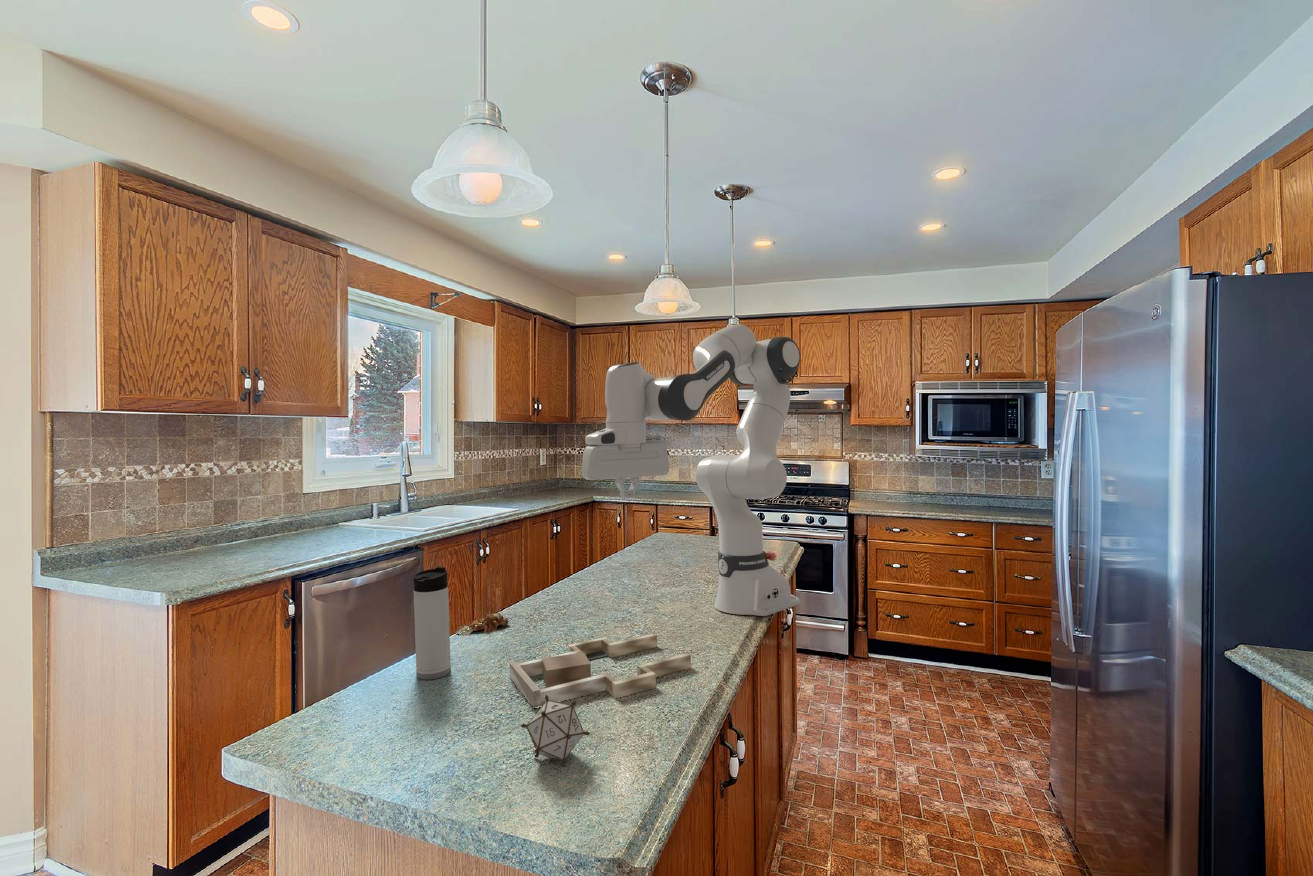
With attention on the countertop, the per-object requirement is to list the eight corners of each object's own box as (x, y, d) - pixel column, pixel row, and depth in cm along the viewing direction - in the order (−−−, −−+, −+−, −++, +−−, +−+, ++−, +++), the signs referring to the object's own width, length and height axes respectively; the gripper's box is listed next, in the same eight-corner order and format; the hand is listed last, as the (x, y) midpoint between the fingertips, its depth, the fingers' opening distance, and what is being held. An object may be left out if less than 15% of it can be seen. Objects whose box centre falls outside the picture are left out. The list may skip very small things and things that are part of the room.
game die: (546, 779, 85) (528, 708, 90) (601, 754, 86) (580, 685, 91) (526, 781, 77) (507, 703, 82) (586, 753, 78) (564, 678, 83)
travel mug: (458, 668, 117) (455, 567, 117) (436, 681, 111) (432, 575, 110) (432, 664, 119) (429, 565, 119) (409, 678, 113) (405, 573, 113)
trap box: (645, 639, 130) (645, 625, 130) (702, 675, 111) (702, 659, 111) (504, 671, 115) (503, 656, 115) (541, 719, 95) (541, 700, 95)
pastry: (452, 633, 139) (451, 618, 139) (498, 621, 147) (498, 607, 147) (465, 640, 134) (464, 625, 134) (512, 627, 142) (511, 613, 142)
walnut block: (584, 672, 114) (583, 652, 114) (591, 685, 108) (590, 663, 108) (542, 679, 111) (541, 658, 111) (547, 692, 106) (546, 670, 106)
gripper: (659, 434, 139) (661, 493, 139) (578, 437, 129) (580, 500, 129) (673, 434, 133) (675, 495, 133) (589, 437, 123) (591, 503, 123)
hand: (627, 498), depth 131 cm, fingers closed
